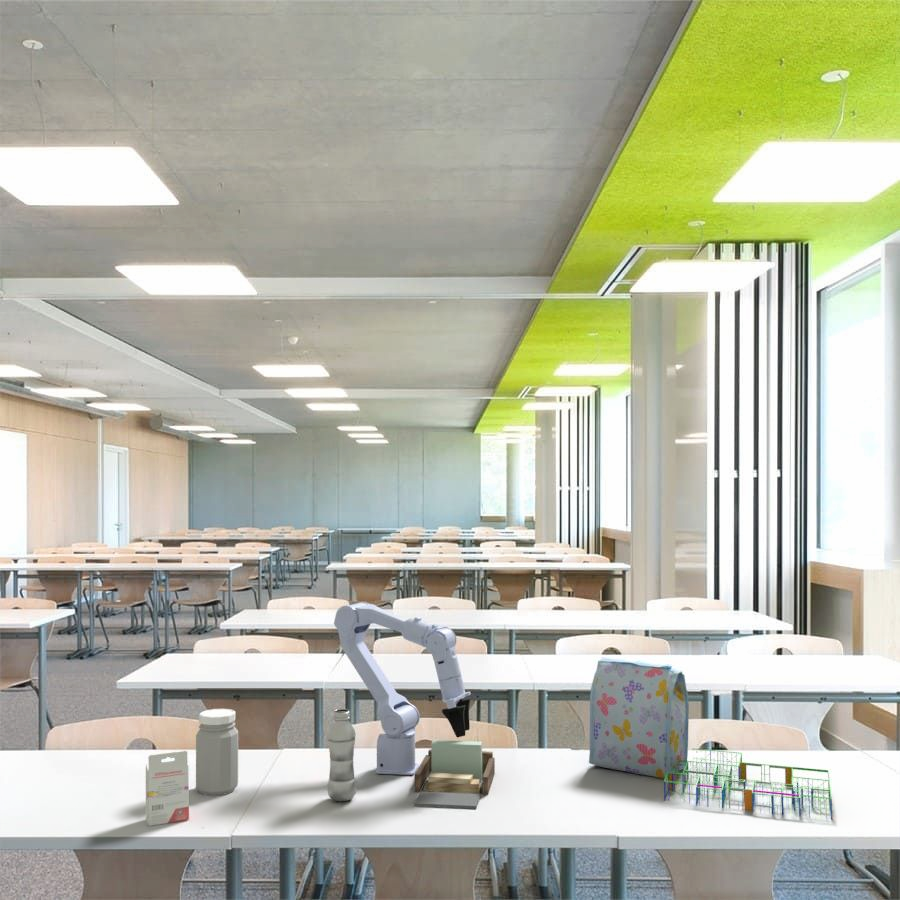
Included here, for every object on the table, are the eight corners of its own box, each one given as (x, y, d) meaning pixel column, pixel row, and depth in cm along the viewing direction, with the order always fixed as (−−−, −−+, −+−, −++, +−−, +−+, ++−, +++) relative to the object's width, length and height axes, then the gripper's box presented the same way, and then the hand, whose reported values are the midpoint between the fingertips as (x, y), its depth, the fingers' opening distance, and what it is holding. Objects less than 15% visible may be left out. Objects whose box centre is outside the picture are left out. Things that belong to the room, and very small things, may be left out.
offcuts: (423, 793, 216) (423, 777, 216) (427, 787, 220) (427, 771, 220) (479, 795, 214) (478, 780, 214) (481, 789, 218) (481, 774, 218)
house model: (663, 803, 208) (663, 782, 208) (678, 766, 235) (678, 747, 235) (832, 822, 196) (831, 799, 196) (827, 780, 223) (827, 760, 223)
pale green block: (431, 781, 224) (431, 743, 224) (433, 777, 226) (433, 740, 227) (481, 783, 222) (480, 745, 222) (482, 779, 225) (482, 741, 225)
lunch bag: (695, 765, 234) (693, 659, 236) (674, 783, 220) (672, 671, 221) (611, 752, 246) (610, 652, 247) (586, 769, 232) (585, 662, 233)
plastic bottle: (361, 796, 212) (360, 708, 213) (348, 806, 206) (348, 715, 207) (335, 793, 215) (335, 706, 215) (322, 803, 208) (322, 713, 209)
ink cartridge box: (186, 813, 202) (186, 745, 203) (189, 820, 198) (189, 750, 198) (144, 818, 199) (145, 749, 200) (147, 826, 195) (147, 755, 195)
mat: (413, 806, 206) (413, 803, 206) (420, 794, 214) (420, 791, 214) (476, 808, 204) (476, 806, 204) (480, 796, 212) (480, 794, 212)
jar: (241, 793, 215) (242, 715, 216) (198, 799, 211) (198, 719, 212) (234, 781, 224) (234, 706, 225) (193, 786, 220) (193, 710, 221)
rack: (414, 791, 216) (414, 769, 216) (427, 769, 232) (426, 749, 233) (488, 794, 213) (487, 772, 213) (495, 772, 230) (495, 751, 230)
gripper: (461, 677, 219) (475, 735, 217) (469, 670, 233) (482, 724, 231) (432, 684, 220) (446, 742, 218) (442, 676, 234) (455, 730, 232)
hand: (463, 733), depth 225 cm, fingers open, 7 cm apart
